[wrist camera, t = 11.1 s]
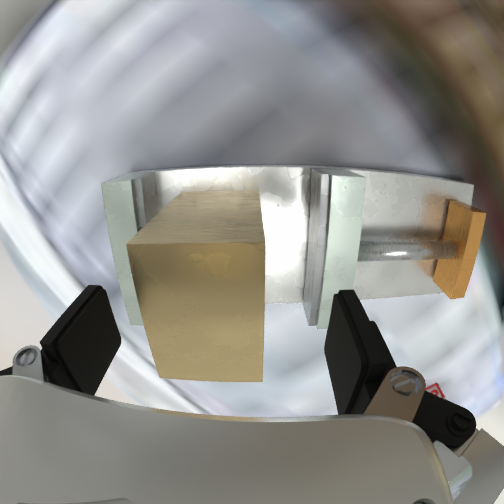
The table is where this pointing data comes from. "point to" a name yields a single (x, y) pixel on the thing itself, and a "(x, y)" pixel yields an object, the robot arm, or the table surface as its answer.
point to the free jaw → (375, 243)
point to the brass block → (203, 286)
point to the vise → (293, 221)
